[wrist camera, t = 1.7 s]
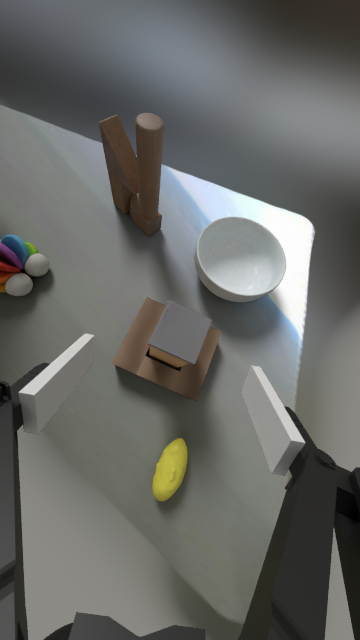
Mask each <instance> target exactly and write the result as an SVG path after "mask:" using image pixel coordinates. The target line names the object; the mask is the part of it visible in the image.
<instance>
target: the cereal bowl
mask: <svg viewBox="0 0 360 640" xmlns="http://www.w3.org/2000/svg"><path fill="white" fill-rule="evenodd" d="M195 267H196V271H197V274H198V276H199V278H200V280H201V281H202V283H203V284H204V285H205V286H206V287H207V288H208V289H209V290H210V291H211V292H212V293H214V294H215V295H217V296H218V297H220V298H222V299H225V300H228V301H233V302H248V301H253V300H256V299H259V298H261V297H263V296H265V295H266V294H268V293H269V292H271V291H272V290H274V289H275V288H276V287H277V286H278V284H279V283H280V282H281V280H282V279H283V276H284V274H285V269H286V259H285V254H284V251H283V249H282V247H281V245H280V243H279V242H278V240H277V239H276V238H275V236H274V235H273V234H272V233H271V232H270V231H269V230H267V229H266V228H265V227H263V226H262V225H260V224H258V223H257V222H254V221H252V220H249V219H246V218H242V217H225V218H221V219H218V220H215V221H214V222H212V223H210V224H209V225H208V226H207V227H206V228H205V229H204V230H203V231H202V233H201V234H200V236H199V238H198V241H197V244H196V249H195Z"/></svg>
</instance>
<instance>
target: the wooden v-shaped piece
mask: <svg viewBox="0 0 360 640" xmlns="http://www.w3.org/2000/svg"><path fill="white" fill-rule="evenodd" d="M99 126H100V132H101V137H102V143H103V148H104V153H105V159H106V164H107V169H108V171H109V172H108V174H109V179H110V185H111V190H112V196H113V201H114V205H115V206H116V207H118V208H119V209H120V210H121V211H122V212H123V213H124V214H127V213H128V212H130V213H131V220H132V221H133V222H134V223H135V224H136V225H137V226H138V227H140V228H141V229H142V230H143V231H144V232H145V233H146V234H147V235H148V236H150V235H152V234H153V233H154V232H156V231H157V230H159V229H160V228H161V220H162V215H161V214H160V213H159V212H158V205H159V191H160V176H161V161H162V147H163V133H164V124H163V122H162V120H161V119H160V118H159V117H158V116H156V115H154V114H151V113H142V114H140V115H138V116H137V118H136V144H137V145H136V147H137V157H136V155H135V153H134V150H133V148H132V146H131V144H130V141H129V140H128V137H127V135H126V132H125V130H124V128H123V126H122V123H121V121H120V119H119V117H118V115H115V116H112V117H110V118H108V119H105V120H103V121H100V122H99ZM137 193H139V194H137Z"/></svg>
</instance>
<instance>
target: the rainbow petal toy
mask: <svg viewBox="0 0 360 640" xmlns="http://www.w3.org/2000/svg"><path fill="white" fill-rule="evenodd" d="M22 269H23V270H25V271H26V273H27V274H29V275H31V276H42V275H44V274H46V273H47V272H48V270H49V262H48V260H47V259H46V257H45V256H43V255H42V254H39V253H38V251H37V249H36V248H35V247H34V246H33V245H32V244H30V243H27V242H24V241H23V240H22V239H21V238H19V237H18V236H16V235H6V236H4V237H3V238H2V239H0V292H7V293H8V294H10V295H13V296H24V295H26V294H28V293H29V292H30V291H31V290H32V287H33V283H32V280H31V278H30V277H29V276H28V275H26V274H24V273H19V272H20V270H22Z"/></svg>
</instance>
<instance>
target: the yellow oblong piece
mask: <svg viewBox="0 0 360 640" xmlns="http://www.w3.org/2000/svg"><path fill="white" fill-rule="evenodd" d="M187 460H188V450H187V446H186V443H185V441H184V440H183V439H182V438H178V439H175V440H174V441H173V442H171V443H170V444H169V445H168V446H167V447H166V448H165V449H164V451H163V454H162V456H161V458H160V461H159V463H157V468H156V472H155V475H154V478H153V483H152V490H153V494H154V496H155V498H156V499H157V500H159V501H165V500H167V499H168V498H170V497H171V496H172V495H173V494H174V493H175V491H176V490H177V489H178V488H179V486H180V485H181V483H182V480H183V477H184V474H185V470H186V466H187Z"/></svg>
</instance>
